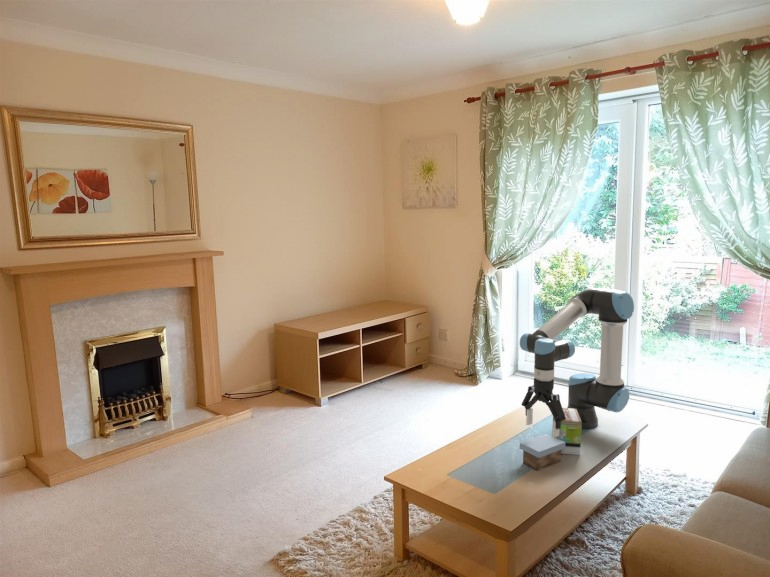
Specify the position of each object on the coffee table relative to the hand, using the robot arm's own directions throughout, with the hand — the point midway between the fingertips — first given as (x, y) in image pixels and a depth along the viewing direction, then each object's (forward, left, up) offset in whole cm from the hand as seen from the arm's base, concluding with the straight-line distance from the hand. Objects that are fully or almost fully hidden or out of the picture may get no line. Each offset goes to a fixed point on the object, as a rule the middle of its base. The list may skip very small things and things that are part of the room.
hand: (542, 430), depth 210 cm
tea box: (-19, -4, -14) cm, 24 cm away
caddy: (0, 0, -14) cm, 14 cm away
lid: (0, 0, -8) cm, 8 cm away
